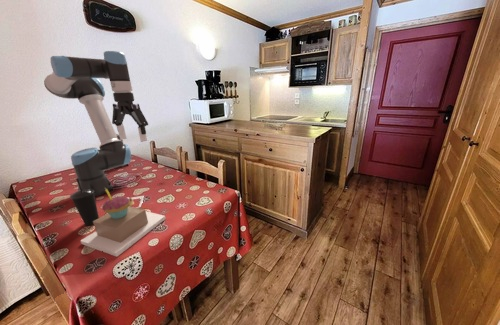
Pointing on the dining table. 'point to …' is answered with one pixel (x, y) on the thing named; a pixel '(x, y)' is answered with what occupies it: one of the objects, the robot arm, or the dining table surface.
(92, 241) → the plinth
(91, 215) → the drinking cup
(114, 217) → the cupcake
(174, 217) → the dining table surface
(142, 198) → the white square frame
